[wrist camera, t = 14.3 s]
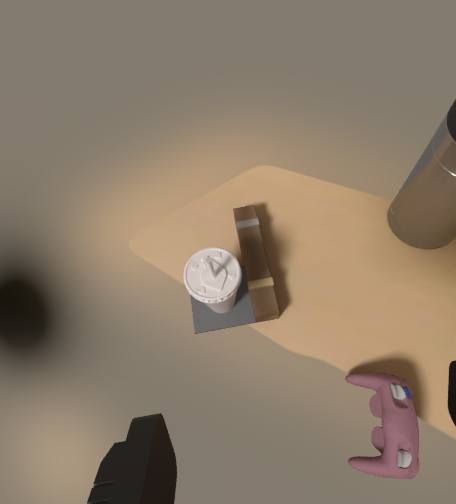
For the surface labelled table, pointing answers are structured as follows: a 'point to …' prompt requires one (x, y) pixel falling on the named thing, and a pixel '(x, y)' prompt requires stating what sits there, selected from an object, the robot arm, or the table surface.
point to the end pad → (236, 316)
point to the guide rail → (256, 265)
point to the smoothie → (213, 278)
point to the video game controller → (390, 427)
